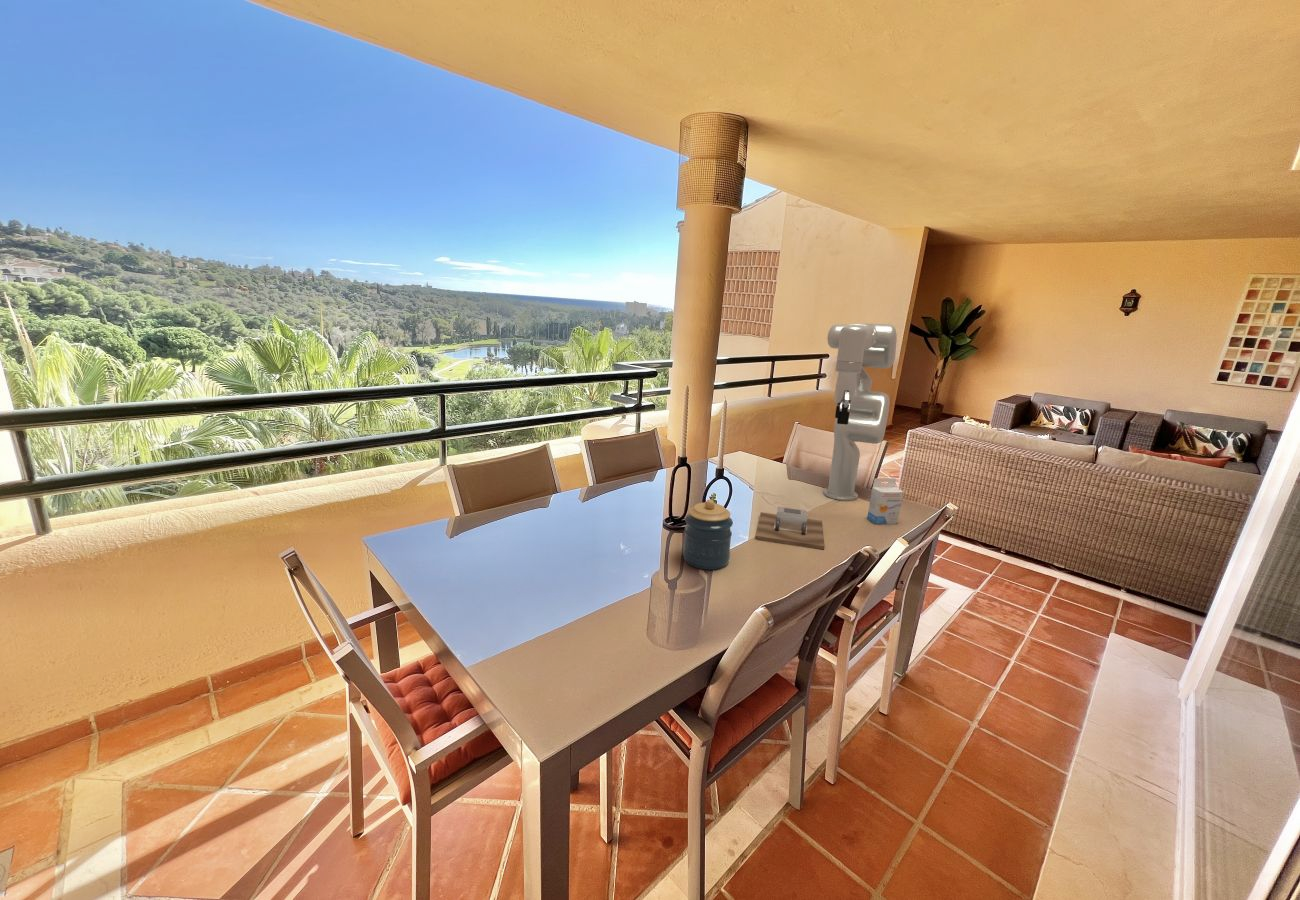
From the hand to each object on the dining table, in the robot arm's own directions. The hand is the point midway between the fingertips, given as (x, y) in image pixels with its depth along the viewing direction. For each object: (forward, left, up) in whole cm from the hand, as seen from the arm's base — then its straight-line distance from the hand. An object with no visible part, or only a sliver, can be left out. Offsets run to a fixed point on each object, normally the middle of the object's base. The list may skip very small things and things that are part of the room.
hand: (841, 421), depth 160 cm
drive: (+14, -12, -33) cm, 38 cm away
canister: (+42, -34, -34) cm, 64 cm away
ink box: (-6, +18, -34) cm, 39 cm away
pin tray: (+14, -12, -34) cm, 39 cm away
